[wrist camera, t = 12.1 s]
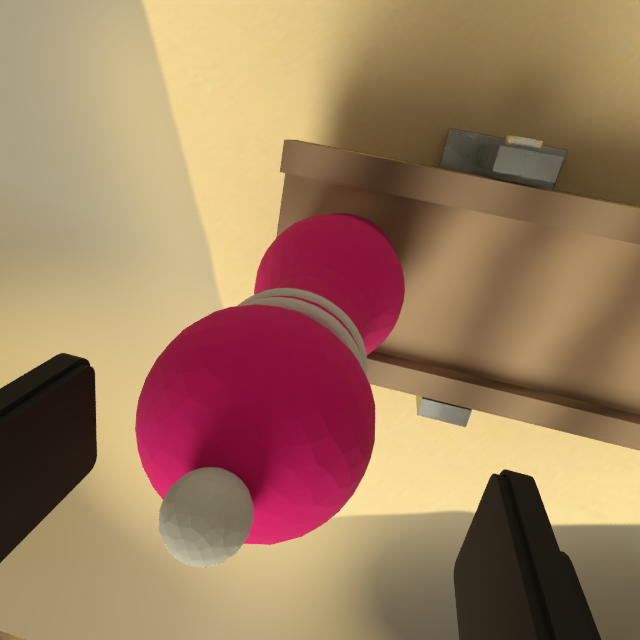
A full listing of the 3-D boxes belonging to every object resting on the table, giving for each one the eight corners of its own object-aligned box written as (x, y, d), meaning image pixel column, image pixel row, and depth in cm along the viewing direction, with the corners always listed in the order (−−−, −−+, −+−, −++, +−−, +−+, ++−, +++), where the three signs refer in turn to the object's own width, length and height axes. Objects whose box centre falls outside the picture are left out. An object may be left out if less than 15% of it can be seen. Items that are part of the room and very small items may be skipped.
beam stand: (563, 149, 28) (612, 151, 21) (478, 385, 34) (495, 443, 28) (449, 128, 28) (462, 124, 22) (387, 363, 35) (383, 415, 28)
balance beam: (811, 239, 23) (860, 251, 20) (690, 440, 28) (717, 469, 25) (296, 140, 26) (284, 139, 23) (267, 338, 31) (255, 355, 28)
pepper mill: (330, 176, 25) (95, 269, 6) (432, 258, 25) (495, 566, 7) (259, 275, 27) (-46, 542, 9) (352, 347, 28) (245, 735, 10)
